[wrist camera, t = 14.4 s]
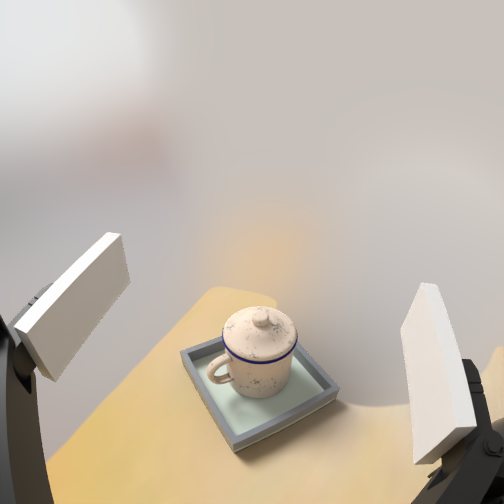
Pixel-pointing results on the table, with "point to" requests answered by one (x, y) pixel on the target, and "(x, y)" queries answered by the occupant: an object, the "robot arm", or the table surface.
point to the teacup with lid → (256, 352)
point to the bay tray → (258, 409)
